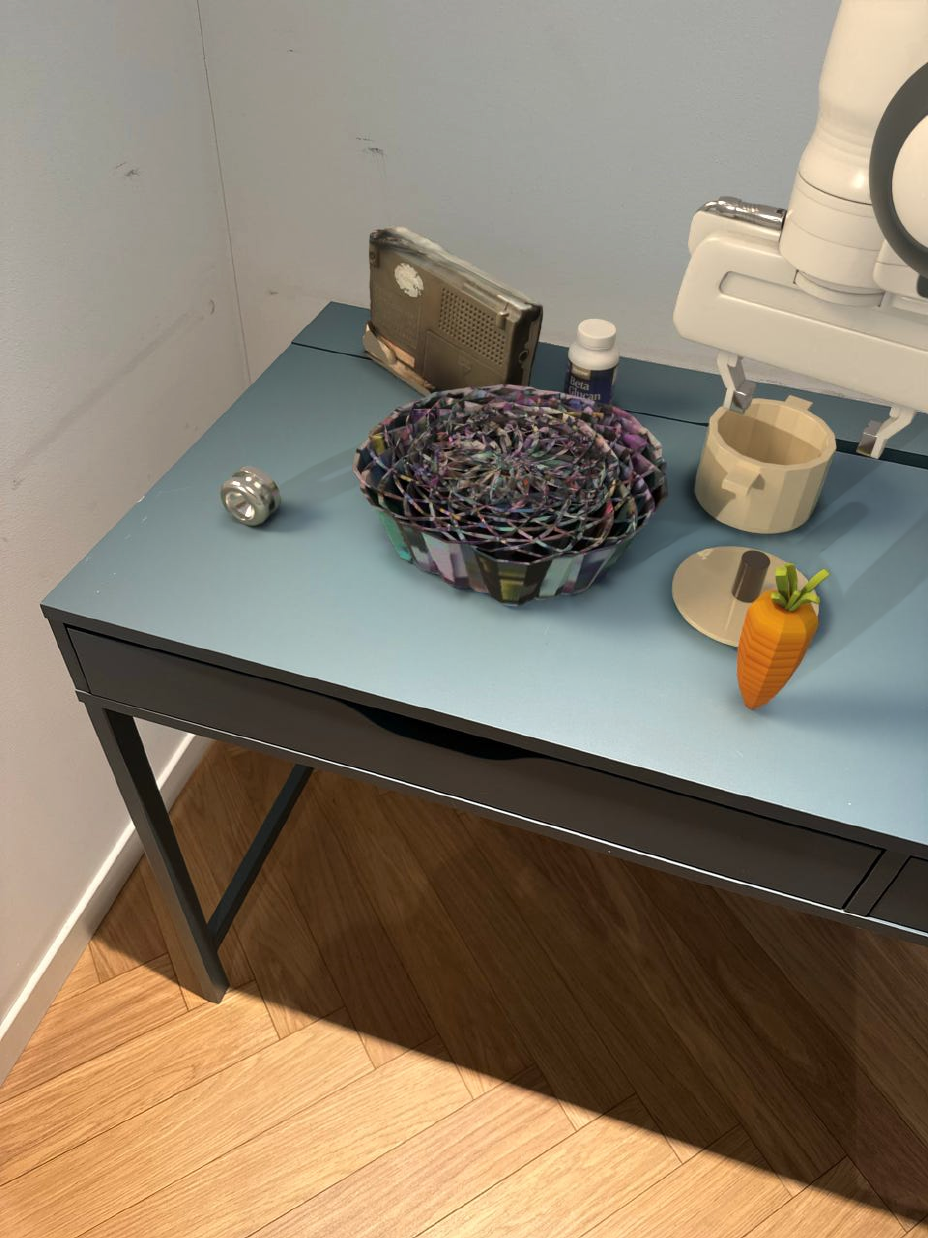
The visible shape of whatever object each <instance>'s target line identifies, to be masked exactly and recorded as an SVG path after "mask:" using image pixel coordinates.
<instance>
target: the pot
mask: <svg viewBox="0 0 928 1238" xmlns="http://www.w3.org/2000/svg"><path fill="white" fill-rule="evenodd" d="M812 406H813V402H812V401H808V400H806V399H803V398H800V397H797V396H794V395H792V394H789V395H788V397H787V398H786V399H785V400H784V401H782V400H776V399H769V398H758V397H757V398H753V399H752V402H751V405H750V407H749V408H748V410H746V411H745V413H744V414H740V413H737V412H734V411H730V410H728V409H725V408H723V405H721V406H720V407H718V408H717V410H716V411H714V413H713V414H712V415H711V416H710V418H709V421H708V425H707V428H706V433H705V436H704V441H703V444H702V445H703V446H702V449H701V453H700V457H699V462H698V466H697V471H696V474H695V482H694V494H695V498H696V501H697V502H698V503H699V505H700V506H701V508H702V509H703V510H704V511H705V512H706V513H707V514H709V516H711V517H712V518H713V519H715V520H716V521H719V522H720V523H722V524H724V525H727V526H728V527H731V528H734V529H737V530H740V531H744V532H748V533H753V534H761V535H762V534H766V535H767V534H770V535H771V534H781V533H786V532H790V531H793V530H795V529H797V528H799V527H801V526H803V525H804V524H805V523H806V522H807V521H808V520H809V519H810V518H811V516H812V514H813V513H814V510H815V508H816V506H817V504H818V501H819V498H820V495H821V492H822V490H823V487H824V484H825V481H826V480H827V479H826V478H827V476H828V473H829V470H830V467H831V465H832V462H833V460H834V457H835V453H836V450H837V440H836V434H835V432H834V431H833V430H832V429H831V427H829V425H828V424H827V423H826V422H825V420H824V419H822V418H821V417H819V416H818V415H816V414H814V413H813V412H811V410H812Z"/></svg>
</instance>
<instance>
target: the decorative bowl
mask: <svg viewBox="0 0 928 1238" xmlns="http://www.w3.org/2000/svg"><path fill="white" fill-rule="evenodd" d="M667 464H668V463H667V461H665V459H664V458H663V445H662V443H661V442H660V441H659V440H658V439H657V438H656V437H655V436H654V435H653V434H652V432H651V431H650V430H649V429H648V428H646V427H644V426H643V425H642V424H641V423H640V422H639V420H638V419H637V418H636V417H635V416H634V414H632V413H630V412H627V411H625V410H623V409H622V408H619V407H616V406H615V405H612V406H611V405H607V404H603V403H599V402H595V401H593V400H589V399H585V398H581V397H577V396H573V395H569V394H565V393H564V392H560V391H555V390H554V391H552V390H547V389H546V390H545V389H544V390H543V389H538V388H535V387H533V386H529V387H527V386H518V385H508V384H500V385H494V386H488V387H473V386H470V387H467V388H461V389H454V390H447V391H441V392H434V393H432V394H430V395H428V396H427V397H426V396H425V397H423V398H419V399H416V400H413V401H411V402H408V403H406V404H403V405H400V406H398V407H396V408H395V409H394V410H393V411H392V412H391V413H390V414H389V415H388V416H386V417H385V418H384V419H382V420H381V421H380V422H378V424H376V425H375V426H373V428H371V429H370V430H369V432H368V437H367V439H366V440H365V441H363V442H362V444H360V445H359V446H358V447H357V448H356V449H355V454H354V458H353V462H352V466H351V469H352V471H353V472H354V474H355V475H356V476H357V478H358V479H359V481H360V483H359V490H360V491H361V493H362V494H363V496H364V497H365V498H366V499H367V501H368V503H369V504H370V505H371V507H372V508H373V509H374V511H375V512H376V515H377V516H378V519H379V521H380V522H381V524H382V526H383V527H384V530H385V531H386V534H387V535H388V537H389V539H390V542H391V543H392V545H393V547H394V549H395V551H396V553H397V554H398V556H399V557H400V558H401V560H404V561H407V562H410V563H414V565H416V567H417V568H418V569H419V570H420V571H423V572H428V573H432V574H436V575H439V576H440V577H441V579H442V580H443V582H444V583H447V584H448V585H451V586H453V587H456V588H462V589H468V588H470V587H471V588H472V589H473V591H474V592H477V593H484V594H489V596H490V597H491V598H492V599H493V600H495V601H497V602H498V603H499V604H501V605H503V606H507V607H508V606H509V607H517V608H518V607H520V606H522V605H524V604H526V603H528V602H531V601H532V600H533V599H534V600H536V601H538V602H539V601H545V600H549V599H553V598H556V597H560V596H561V595H562V596H569V597H571V596H572V597H575V596H577V595H579V594H580V593H583V592H585V591H586V590H588V589H589V588H590V587H591V585H592V584H593V583H595V582H598V581H600V580H602V579H604V578H605V577H606V576H607V575H608V573H609V571H610V570H611V569H612V568H613V566H614V564H615V563H617V562H618V561H619V559H620V558H621V557H622V556H623V554H624V553H625V552H626V550H627V549H628V547H629V546H630V544H632V541H633V540H634V539H635V538H636V536H637V535H638V533H639V531H640V530H641V529H643V528H645V527H647V525H648V524H649V522H650V519H651V518H652V516H653V515H654V514H656V513H657V511H658V510H659V509H660V507H661V506H662V505H663V504H664V502H665V501H666V500H667V499H668V498H669V490H668V482H667V478H666V471H667Z"/></svg>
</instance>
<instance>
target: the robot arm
mask: <svg viewBox="0 0 928 1238" xmlns="http://www.w3.org/2000/svg"><path fill="white" fill-rule="evenodd" d="M830 34H831V35H830V37H829V42H828V46H827V49H826V51H825V56H824V61H823V64H822V68H821V72H820V76H819V82H818V89H817V93H818V94H817V95H818V96H817V97H818V98H817V99H818V110H817V119H816V122H815V126H814V130H813V133H812V135H811V138H810V139H809V141H808V143H807V145H806V147H805V148H804V150H803V153H802V154H801V157H800V159H799V161H798V162H799V163H798V166H797V169H796V173H795V174H796V175H795V178H794V183H793V185H792V186H793V187H792V190H791V194H790V199H789V201H788V206H787V209H785V208H781V207H776V206H772V205H767V204H762V203H761V204H760V203H752V202H747V201H743V199H741V198H738V197H735V196H730V195H723V196H719V198H718V199H717V200H711V201H708V202H705V203H703V204H702V205H701V206H700V207H698V209H696V211H695V213H694V215H693V217H692V218H691V219H692V220H691V223H690V229H689V235H688V240H687V247H688V252H689V255H690V260H689V262H688V265H687V266H686V269H685V271H684V275H683V278H682V281H681V284H680V287H679V291H678V295H677V298H676V302H675V304H674V310H673V314H672V315H673V316H672V323H673V326H674V328H675V330H676V332H677V334H678V336H679V337H680V338H681V339H684V340H687V341H690V342H693V343H696V344H699V345H703V346H706V347H710V348H713V349H715V350H718V354H717V358H716V365H717V367H718V368H717V369H718V370H719V374H720V376H721V378H722V382H723V383H724V384H723V385H724V387H725V388H727V389H726V392H725V397H724V401H723V405H722V406H723V408H725V409H728V410H730V411H734V412H737V413H740V414H744V413H745V411H746V410H748V408H749V407H750V405H751V402H752V399H754V396H753V394H754V393H755V391H756V388H757V383H756V382H753V381H750V380H748V379H747V378H746V374H745V371H744V367H743V364H742V360H744V359H747V360H750V361H754V362H757V363H761V364H764V365H768V366H771V367H774V368H777V369H779V370H780V369H781V370H784V371H786V372H790V373H793V374H797V375H800V376H804V377H806V378H810V379H813V380H815V381H819V382H822V383H826V384H829V385H832V386H836V387H838V388H842V389H846V390H849V391H852V392H855V393H859V394H861V395H864V396H868V397H871V398H875V399H878V400H881V401H884V402H887V403H891V404H892V405H891V408H890V411H889V418H888V419H886V420H885V421H883V422H879V421H876V420H873V419H871V420H870V421H869V422H868V423H867V426H866V427H865V428H864V430H863V431H862V434H861V436H860V439H859V443H858V445H857V448H856V451H855V452H856V453H858V454H861V455H864V456H867V457H869V458H873V459H876V460H879V458H880V457H881V456H882V454H883V452H884V450H885V448H886V446H887V443H888V441H889V439H890V438H892V437H893V436H894V435H896V434H897V433H899V432H900V431H901V430H902V429H905V428H906V427H908V425H910V424H911V423H912V421H913V420H914V418H915V416H916V414H917V413H918V412H920V413H924V414H926V415H928V0H841V1H840V5H839V8H838V10H837V15H836V18H835V21H834V24H833V27H832V30H831V33H830Z"/></svg>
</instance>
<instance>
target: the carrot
mask: <svg viewBox="0 0 928 1238" xmlns="http://www.w3.org/2000/svg"><path fill="white" fill-rule="evenodd" d="M784 566H785V567H777V568H776V571H775V578H776V584H777V588H778V590H768V591H764V592H763V593H762V594H761V595H760V596H759V597H758V598H757V599H756V600H755V601H754V602H753V603H752V604H751V605H750V607H749V608H748V610H747V614H746V617H745V621H744V624H743V628H742V632H741V636H740V641H739V645H738V647H737V655H736V678H737V684H738V688H739V689H738V690H739V692H740V694H741V698H742V700H743V703H744V705H745V707H746V708H748V709H750V710H757V709H760V708H761V707H763V706H765V705H767V704H768V703H770V702H771V701H772V700H773V699H774V698H775V697H776V696H777V695H778V694H779V693H780V692H781V690H782V689H783V688H784V687H785V686H786V684H788V682H789V680H790V679H791V678H792V677H793V676H794V674H795V672H796V671H797V670H798V668H799V666H800V665H801V663H802V662H803V660H804V658H805V656H806V654H807V653H808V649H809V648H810V647H811V643H812V641H813V639H814V637H815V634H816V632H817V630H818V627H819V617H818V618H817V615H816V613H815V611H814V609H813V606H812V604H811V602H813V603H815V604H819V605H820V603H821V597H820V596H818V595H817V594H816V595H817V596H816V595H814V594H812V593H810V592H811V591H812V590H813V589H814V590H815V589H816V588H817V587H818V586H819V585H820V584H822V583H823V582H824V581H825V580H826V579H828V577H829V576H831V575H832V573H831V572H830V570H828V569H827V568H822V569H821V570H819V571H818V572H816V574H814V575H813V576H812V577H811V578H810V579H809V580H808V581H809V582H808V583H807V584H806V585H805V586H804V588H803V589H802V590H801V591H799V590H797V588H798V578H797V572H796V569H797V568H796V566H795V564H794V562H787V564H784ZM795 568H796V569H795ZM788 582H789V584H788Z"/></svg>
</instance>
